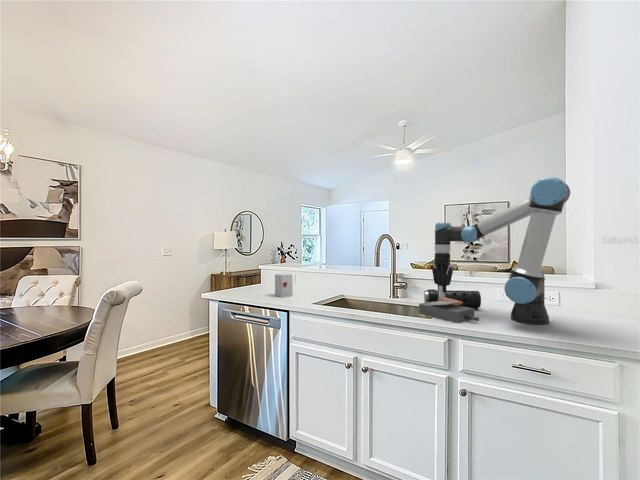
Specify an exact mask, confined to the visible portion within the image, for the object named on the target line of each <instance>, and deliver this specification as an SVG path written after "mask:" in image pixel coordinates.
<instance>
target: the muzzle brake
mask: <svg viewBox="0 0 640 480" xmlns="http://www.w3.org/2000/svg"><path fill="white" fill-rule="evenodd" d="M445 297H446V298H450V299H454V300H458V301H462V302H463V304H460V305H459V306H464V307H469V308H474V310H479V308H481V305H482V296H481V293H480V291H479V290H447V289H446V292H445ZM438 299H439V291H438V289H435V288H434V289H433V288H432V289H430V288H429V289H427V290H424V291H423V303H427V302H433V301H438Z"/></svg>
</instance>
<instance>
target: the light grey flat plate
mask: <svg viewBox="0 0 640 480" xmlns="http://www.w3.org/2000/svg"><path fill="white" fill-rule="evenodd" d="M452 303H454V301H436V302H431V303H429V305H447V304H452Z"/></svg>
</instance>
